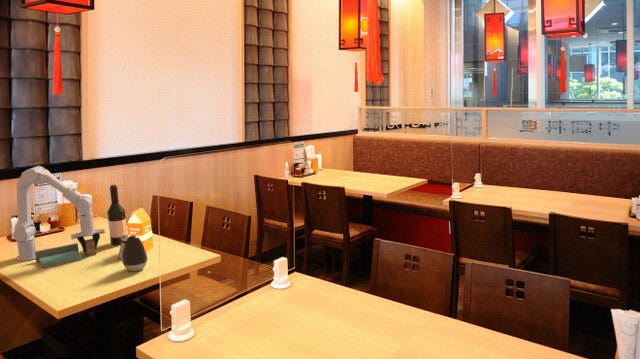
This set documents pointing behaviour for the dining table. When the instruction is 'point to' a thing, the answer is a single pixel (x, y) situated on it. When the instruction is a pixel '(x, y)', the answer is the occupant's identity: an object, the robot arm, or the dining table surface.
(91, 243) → the walnut block
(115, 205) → the wine bottle
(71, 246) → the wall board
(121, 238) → the flask
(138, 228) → the orange juice
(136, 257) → the black egg shape
